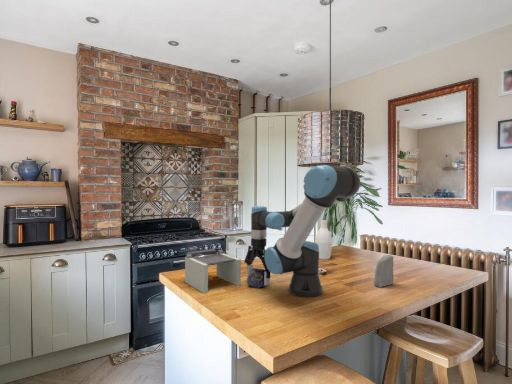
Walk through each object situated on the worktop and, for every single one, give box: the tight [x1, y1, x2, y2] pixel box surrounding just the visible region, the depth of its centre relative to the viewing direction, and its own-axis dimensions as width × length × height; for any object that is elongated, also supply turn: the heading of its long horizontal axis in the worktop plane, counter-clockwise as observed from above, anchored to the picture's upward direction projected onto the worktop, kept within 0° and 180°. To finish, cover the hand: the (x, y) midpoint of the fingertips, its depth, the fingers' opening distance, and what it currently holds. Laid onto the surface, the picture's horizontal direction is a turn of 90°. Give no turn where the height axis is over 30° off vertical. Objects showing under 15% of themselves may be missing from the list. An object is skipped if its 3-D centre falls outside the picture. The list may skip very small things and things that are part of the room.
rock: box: [246, 267, 266, 289], centre depth 153 cm, size 11×10×10 cm
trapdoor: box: [186, 248, 235, 266], centre depth 156 cm, size 21×15×7 cm
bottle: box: [314, 219, 333, 260], centre depth 212 cm, size 11×11×25 cm
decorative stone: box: [373, 254, 395, 288], centre depth 154 cm, size 11×6×15 cm, turn 124°
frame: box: [184, 249, 242, 294], centre depth 154 cm, size 20×20×14 cm
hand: (258, 281), depth 152 cm, fingers open, 13 cm apart
